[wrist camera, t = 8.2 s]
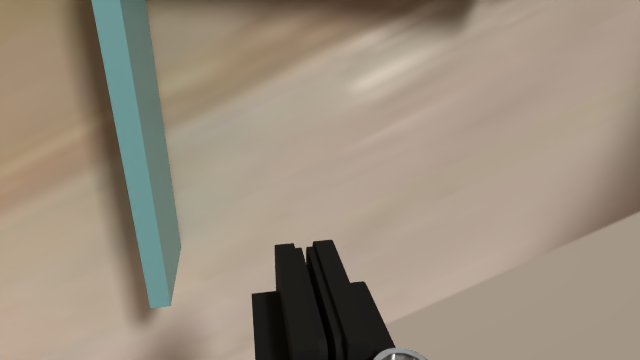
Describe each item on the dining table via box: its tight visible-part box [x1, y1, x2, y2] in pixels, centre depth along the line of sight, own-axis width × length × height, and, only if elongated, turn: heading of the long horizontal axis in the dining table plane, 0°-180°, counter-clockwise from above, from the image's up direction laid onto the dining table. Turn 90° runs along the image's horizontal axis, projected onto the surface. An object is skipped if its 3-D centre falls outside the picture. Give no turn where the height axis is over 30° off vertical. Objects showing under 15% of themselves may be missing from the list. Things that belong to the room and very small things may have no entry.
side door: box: [91, 0, 181, 309], centre depth 20 cm, size 20×1×6 cm, turn 0°
